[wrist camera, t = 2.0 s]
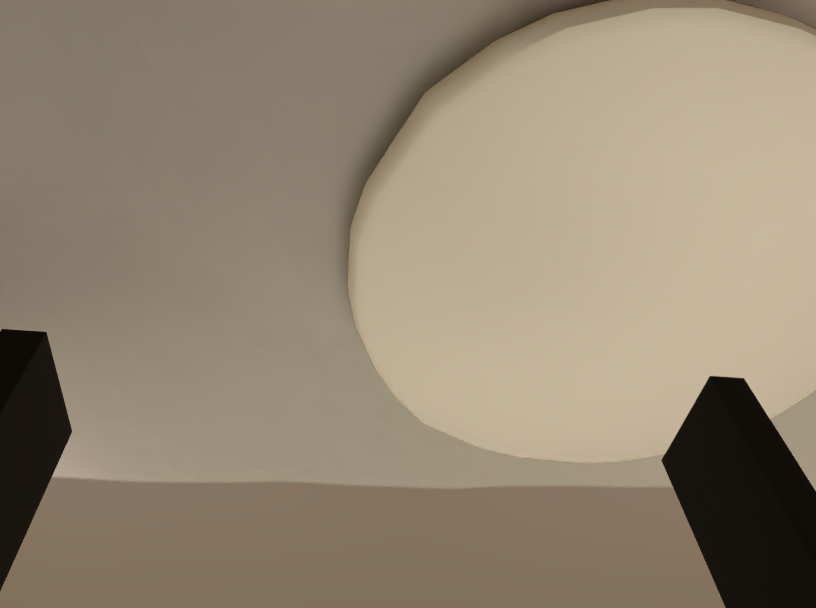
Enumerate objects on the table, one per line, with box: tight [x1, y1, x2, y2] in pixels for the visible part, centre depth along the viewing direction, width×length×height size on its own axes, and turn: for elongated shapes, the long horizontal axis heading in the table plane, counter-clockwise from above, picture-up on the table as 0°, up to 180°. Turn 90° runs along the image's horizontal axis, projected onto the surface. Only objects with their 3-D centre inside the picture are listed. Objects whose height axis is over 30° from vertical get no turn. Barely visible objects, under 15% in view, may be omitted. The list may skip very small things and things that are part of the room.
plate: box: [348, 0, 816, 463], centre depth 34 cm, size 28×6×27 cm
